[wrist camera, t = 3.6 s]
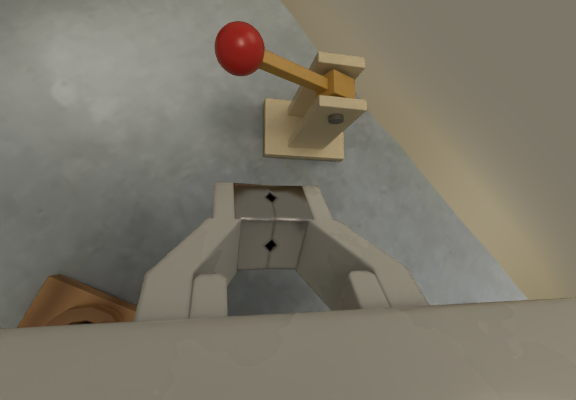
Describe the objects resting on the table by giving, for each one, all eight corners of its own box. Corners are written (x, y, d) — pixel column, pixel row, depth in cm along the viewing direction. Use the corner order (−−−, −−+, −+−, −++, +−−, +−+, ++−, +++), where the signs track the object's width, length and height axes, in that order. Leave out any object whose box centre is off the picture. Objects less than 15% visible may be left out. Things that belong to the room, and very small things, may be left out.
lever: (205, 75, 23) (228, 51, 20) (207, 30, 23) (229, 0, 21) (332, 119, 31) (361, 106, 28) (331, 85, 32) (359, 69, 29)
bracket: (263, 156, 38) (286, 113, 26) (263, 102, 39) (286, 35, 27) (340, 161, 40) (396, 124, 28) (339, 109, 41) (392, 51, 29)
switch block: (11, 353, 30) (-20, 369, 26) (59, 273, 31) (38, 277, 28) (132, 398, 31) (121, 419, 28) (172, 320, 33) (166, 330, 29)
